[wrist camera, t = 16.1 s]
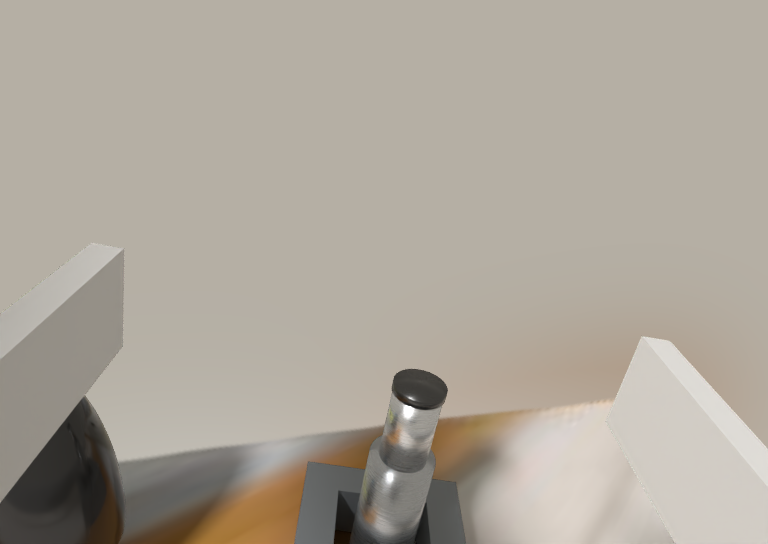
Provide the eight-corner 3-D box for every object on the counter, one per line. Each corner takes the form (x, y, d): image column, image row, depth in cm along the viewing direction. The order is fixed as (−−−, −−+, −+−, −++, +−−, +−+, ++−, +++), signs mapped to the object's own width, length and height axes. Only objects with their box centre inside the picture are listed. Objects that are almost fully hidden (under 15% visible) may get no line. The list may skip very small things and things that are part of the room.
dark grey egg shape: (157, 535, 42) (165, 357, 36) (48, 676, 32) (33, 465, 26) (35, 491, 43) (23, 313, 37) (-105, 614, 34) (-150, 400, 28)
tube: (341, 597, 40) (386, 400, 33) (345, 544, 44) (385, 360, 37) (404, 605, 40) (459, 411, 34) (401, 552, 44) (451, 370, 38)
